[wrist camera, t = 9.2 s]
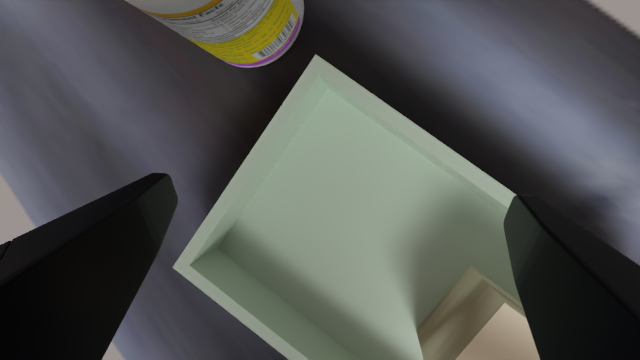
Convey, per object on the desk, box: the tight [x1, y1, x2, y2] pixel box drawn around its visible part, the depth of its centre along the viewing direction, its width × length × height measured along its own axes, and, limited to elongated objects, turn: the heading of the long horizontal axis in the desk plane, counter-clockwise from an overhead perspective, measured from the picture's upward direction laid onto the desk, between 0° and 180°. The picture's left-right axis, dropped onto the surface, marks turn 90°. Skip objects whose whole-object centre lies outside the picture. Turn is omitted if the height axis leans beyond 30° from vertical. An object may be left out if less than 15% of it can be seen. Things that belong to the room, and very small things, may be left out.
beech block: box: [416, 265, 540, 360], centre depth 17 cm, size 5×5×5 cm
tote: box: [173, 55, 520, 360], centre depth 18 cm, size 13×20×4 cm, turn 54°
